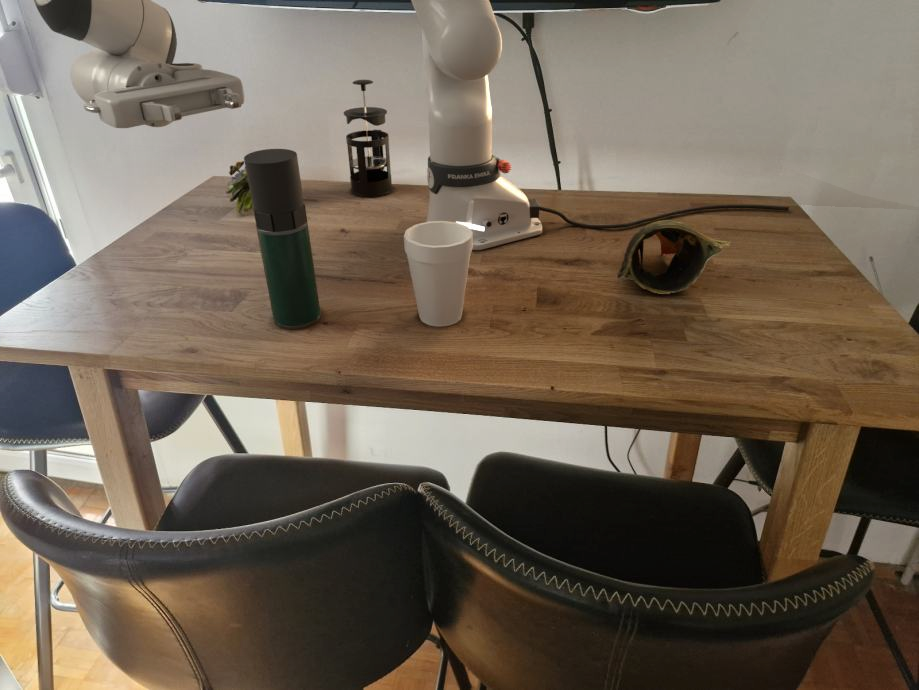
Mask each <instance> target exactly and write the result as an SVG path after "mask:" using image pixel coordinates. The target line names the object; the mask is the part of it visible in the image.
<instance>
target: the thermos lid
mask: <svg viewBox="0 0 919 690" xmlns="http://www.w3.org/2000/svg"><path fill="white" fill-rule="evenodd" d="M298 158H299V157H298V153H297V152H296V151H295V150H292V149H287V148H267V149H266V148H265V149H260V150H255V151H251V152H249V153H247V154H246V155H245V156H244V157H243V161H244V168H245V167H246V172H247V177H248V183H249V188H250V193H251V199H252V204H253V209H252V210H253V215H254V220H255V226H256V225H257V228H258V229H260V230H265V231H270V232H274V231H275V232H280V231H287V230H294V229H297V228H298V227H300V226H302V225H304V224H305V223H307V221H308V216H307V209H306V203H305V201H304V193H303V187H302V180H301V173H300V166H299V159H298Z"/></svg>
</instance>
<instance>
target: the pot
mask: <svg viewBox="0 0 919 690" xmlns="http://www.w3.org/2000/svg"><path fill="white" fill-rule="evenodd" d="M654 236H656V237H657V238H658V240H659V242H660V257H663V255H673V257H672V258H671V261H670V263H669V265H668V267H667V269H666V271H664V272H661V273H658V274H654V273H652V272H650V271H649V270H647V269H646V268H644V267H643V261H644V245H645V244H644V243H645V240H647V239H650V238H652V237H654ZM733 244H734V242H733V241H730V240H717V239H713V238H711V237H709V236H706V235H704V234H702V233H700V232H698V231H697V230H695V229H694V228H693V227H691V226H690V225H688V224H686V223H684V222H681V221H679V222H678V221H674V220H672V219H662V220H658V221H653V222H651V223H648V224H646V225H644V226H642V227H641V228H640V229H639V230H638V231H637V232H635V233H634V235H633V236H632V237H631V239H630V240H629V242H628V244H627V248H626V249H625V253H624V255H623V256H624V257H623V260H622V263H621V266H620V269H619V271H618V272H617V275H616V279H622V278H624V279H626V280H629V281H630V280H632V281H634V283H636V284H638V285H639V286H640V288H642V289H643V290H647V291H649V292H651V293H655V294H656V293H657V294H658V295H659V294H661V295H662V294H663V295H664V294H665V295H667V294H668V295H669V294H671V293H674V294H675V293H679V292H681V291H685V290H686V289H689V288H690V286H691V285H693V284H694V283H695V282H696V281H697V279H698V278H700V276H702V273H703V271H704V269H706V264H707V262H708V261H709V260H710V259H711V258H712V257H714V256H716V255H719V254H721V253H722V252H723V250H722V248H723V247H729V246H732V245H733Z"/></svg>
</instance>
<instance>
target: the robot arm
mask: <svg viewBox="0 0 919 690" xmlns="http://www.w3.org/2000/svg"><path fill="white" fill-rule="evenodd" d="M410 1H411V4H412V7H413V10H414V11H415V14H416V16H417V19H418V21H419V24H420V27H421V42H422V43H421V45H422V57H423V70H424V82H425V92H426V103H427V114H428V140H429V141H428V142H429V156H428V157H427V168H426V171H427V174H426V175H427V184H428V185H427V186H428V189H429V200H428V209H427V215H426V219H425V222H430V221H448V222H457V223H459V224H462V225H465V226H467V227H468V228H469V229H470V230H471V231H472V232H473V248H472V251H481V250H486V249H490V248H494V247H498V246H501V245H505V244H508V243H512V242H516V241H520V240H523V239H527V238H531V237H536V236H538V235H541V234H543V224H542V222H541V220H540V219H539V218H540V211H542V212H546V213H550V214H554V215H556V216H559V217H560V218H561V219H562V220H563V221H564V222H566V223H567V224H569V225H572V226H575V227H579V228H586V229H596V230H597V229H598V230H601V229H603V230H604V229H622V228H628V227H632V226H636V225H639V224H644V223H647V222H652V221H655V220H659V219H664V218H667V217H672V216H676V215H681V214H685V213H691V212H699V211H705V210H706V211H707V210H717V209H719V210H720V209H753V210H755V209H757V210H773V211H785V212H787V211H789V210H790V207H789V206H778V205H761V204H712V205H703V206H695V207H690V208H684V209H679V210H673V211H669V212H666V213H665V212H664V213H661V214H658V215H654V216H650V217H649V216H648V217H645V218H641V219H637V220H634V221H629V222H625V223H616V224H615V223H614V224H613V223H612V224H589V223H581V222H577V221H574V220H572V219H569V218H568V217H567V215H565V214H564V213H562V212H560V211H559V210H556V209H553V208H549V207H543V206H540V204H539V203H538V201H537V200H536V198H528V197H527V195H526V194H525V193H524V192H523V191H522V190H521V189H519V187H518V186H516V185H514V184H513V183H512V182H510V181H509V180H508V179H506V177H504V176H502V175H501V173H502V174H508V173H510V171H511V170H512V164H511V163H510V162H508V161H507V160H505V159H500V157H497V156H496V155H494V154H492V153H493V107H492V101H491V93H490V85H489V74H490V73H492V71H493V70H494V69H495V68H496V67H497V65H498V63H499V61H500V58H501V55H502V50H503V39H502V33H501V30H500V27H499V24H498V22H497V19H496V15H495V13H494V10H493V7H492V5H491V2H490V0H410ZM33 3H34V5H35V7H36V9H37V11H38V13H39V15H40V16H41V18H42V19H43V21H44V22H45V24H46V25H47V26H48V28H49V29H50V30H51V31H52V32H54V33H57V34H59V35H62V36H64V37H66V38H67V37H68V38H70V39H73V40H76V41H78V42H83V43H86V44H87V45H90V46H92V47H94V48H93V49H92V50H90V51H89V52H87V53H84V54H83V55H80V56H79V57H77V58H76V59H75V60H74V61H73V63H72V64H71V67H70V75H69V77H70V81H71V84H72V87H73V89H74V91H75V92H76V93H77V95H78V96H79V98H80V99H81V100H82V101H83V102H85V103H84V104H83V109H84V110H85V111H86V112H88V113H92V114H98V116H99V119H100V121H101V122H103V123H104V124H106V125H108V126H110V127H112V128H116V129H129V128H134V127H140V126H148V127H151V128H162V127H166V126H168V125H171V124H172V123H173V122H176V121H180V120H182V118H184V117H189V116H193V115H197V114H202V113H207V112H212V111H217V110H222V109H230V110H234V109H238V108H241V107H242V105H243V104H244V103H245V91H244V86H243V82H242V80H241V78H240V77H238V76H235V75H232V74H230V73H225V72H222V71H218V70H212V69H204V68H203V66H202V64H199V63H194V62H189V63H188V62H184V63H183V62H182V63H174V60H175V57H176V52H177V47H178V46H177V45H178V40H177V33H176V32H177V31H176V28H175V24H174V21H173V19H172V17H171V15H170V12H169V11H168V10H167V9H166V8H165V7H164V6H161V5H160V4H158V3H157V2H154V1H153V0H33Z"/></svg>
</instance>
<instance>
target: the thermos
mask: <svg viewBox="0 0 919 690" xmlns="http://www.w3.org/2000/svg"><path fill="white" fill-rule="evenodd" d="M255 230H256V234H257V239H258V245H259V249H260V255H261V260H262V266H263V271H264V276H265V281H266V287H267V293H268V297H269V298H268V299H269V302H270V308H271V313H272V319H273V323H274V325H275V326H276V327H278V328H280V329H282V330H287V331H297V330H303V329H306V328H310V327H313V326H314V325H316V324H317V323H318V322H319V321H320V320H321V318H322V311H321V307H320V299H319V292H318V285H317V279H316V278H317V277H316V272H315V266H314V265H315V264H314V258H313V257H314V256H313V251H312V244H311V238H310V237H311V235H310V229H309V222H308V220H307V223H305V224H304V225H302V226H300V227H298V228H297V229H294V230H287V231H280V232H275V231H274V232H270V231H265V230H260V229H258V228H257V225H256V224H255Z"/></svg>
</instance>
